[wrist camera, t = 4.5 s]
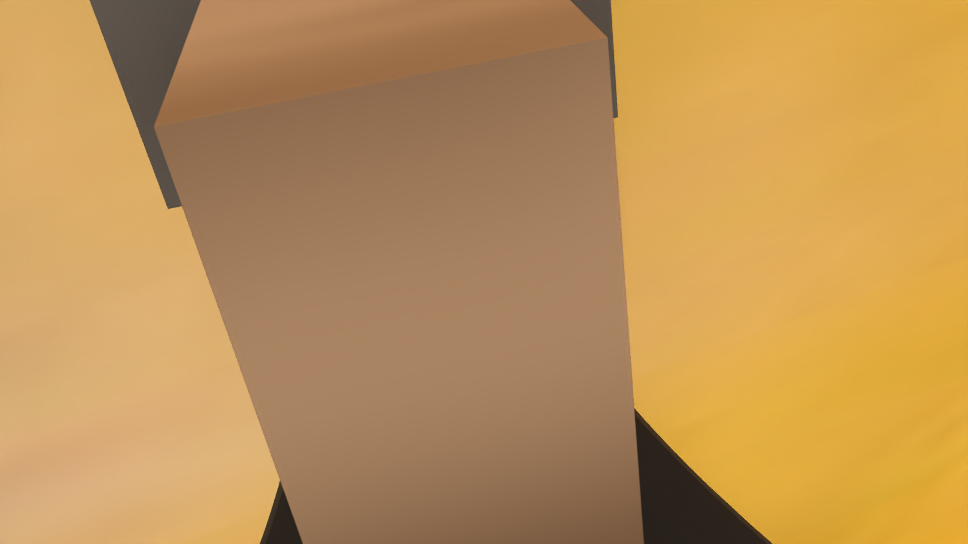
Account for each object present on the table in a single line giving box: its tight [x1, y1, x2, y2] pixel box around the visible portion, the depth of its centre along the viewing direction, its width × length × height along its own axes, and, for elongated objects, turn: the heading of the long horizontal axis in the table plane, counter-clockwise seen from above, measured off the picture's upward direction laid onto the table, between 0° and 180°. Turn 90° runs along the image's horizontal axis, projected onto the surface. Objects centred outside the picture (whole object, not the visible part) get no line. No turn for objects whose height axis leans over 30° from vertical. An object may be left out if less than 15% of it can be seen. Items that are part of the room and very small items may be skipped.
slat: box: [154, 0, 644, 544], centre depth 10 cm, size 10×2×5 cm, turn 8°
